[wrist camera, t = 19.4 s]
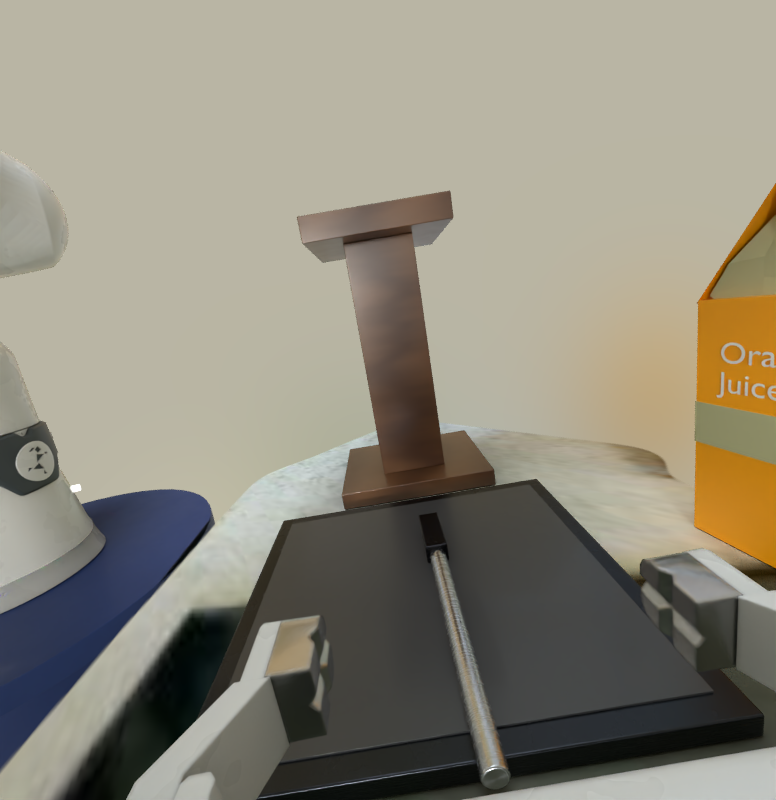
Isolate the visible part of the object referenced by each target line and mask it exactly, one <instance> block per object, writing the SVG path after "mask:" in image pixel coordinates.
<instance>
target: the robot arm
mask: <svg viewBox="0 0 776 800" xmlns="http://www.w3.org/2000/svg"><path fill="white" fill-rule="evenodd" d="M67 242H68V224H67V219H66V216H65V213H64V210H63V208H62V206H61V204H60V202H59V200H58V198H57V197H56V195H55V194H54V192H53V191H52V190H51V188H50V187H49V186H48V185H47V184H46V182H45V181H44V180H43V179H42V178H41V177H40V176H39V175H38V174H36V173H35V172H34V171H33V170H32V169H31V168H29V167H28V166H26V165H25V164H24V163H23V162H21V161H19V160H17V159H15V158H13V157H11V156H10V155H8V154H6V153H4V152H3V151H1V150H0V278H4V277H9V276H15V275H19V274H25V273H30V272H34V271H39V270H43V269H48V268H52V267H54V266H55V265H56V264H57V263H58V262H59V260H60V259H61V257H62V256H63V254H64V252H65V249H66V246H67ZM57 452H58V451H57V449H56V446H55V444H54V441H53V436H52V434H51V432H49V429H48V427H47V425H46V423H45V422H43V421H39V419H38V416H37V414H36V411H35V408H34V406H33V403H32V400H31V398H30V395H29V393H28V390H27V388H26V385H25V382H24V380H23V377H22V374H21V372H20V369H19V367H18V364H17V361H16V359H15V356H14V355H13V353H12V352H11V351H10V350H9V349H8V348H7V347H6V346H5V345H4V344H3V343H1V342H0V614H1V613H4V612H6V611H8V610H10V609H13V608H15V607H17V606H19V605H21V604H23V603H25V602H27V601H29V600H31V599H33V598H35V597H37V596H39V595H41V594H42V593H44V592H46V591H48V590H49V589H51V588H53V587H55V586H56V585H58V584H60V583H61V582H63V581H64V580H66V579H67V578H69V577H70V576H72V575H73V574H75V573H76V572H78V571H79V570H80V569H82V568H83V567H84V566H86V565H87V564H88V563H89V562H90V561H91V560H93V559H94V558H95V557H96V556H97V555H98V553H99V552H100V551H101V550H102V548H103V547H104V545H105V542H106V538H105V536H104V535H103V534H102V533H101V532H100V530H99V529H98V528H97V527H96V526H95V524H94V523H93V521H92V519H91V518H90V517H89V516H88V515H87V513H86V512H85V510H84V508H83V507H82V505H81V503H80V502H79V500H78V498H77V497H76V495H75V493H74V492H75V491H79V490H81V487H80V485H79V484H78V485H74V486H70V484H69V483H68V481H67V479H66V477H65V476H64V474H63V473H62V471H61V470H60V468H59V465H58V457H57ZM640 574H641V575H642V576H643V577H644V578H645V579H646V582H645V583H644V585H643V586H642V588H641V601H642V604H643V607H644V609H645V612H646V614H647V616H648V617H649V619H650V620H651V622H652V623H653V624H654V625H655V627H656V628H657V629H658V630H659V631H660V632H662V633H664V634H667V635H669V636H671V637H673V647H674V648H675V649H676V650H677V651H678V652H679V653H680V654H681V656H682V657H683V658H684V659H685V660H686V661H687V662H688V663H689V664H690V665H691V667H692V668H693V669H694V670H695V671H696V672H701V671H708V670H716V669H723V668H730V667H736V669H737V670H739V671H740V672H742V673H744V674H746V675H747V676H749V677H751V678H752V679H754V680H756V681H758V682H759V683H761V684H763V685H764V686H766V687H768V688H770V689H771V690H773V691H775V692H776V590H774V591H767V590H766V589H764V588H763V587H761V586H760V585H759V584H757V583H756V582H754V581H753V580H751V579H750V578H749V577H747V576H746V575H744V574H743V573H741V572H740V571H738V570H737V569H736V568H734V567H733V566H731V565H730V564H728V563H727V562H726V561H724V560H723V559H721V558H720V557H718V556H717V555H716V554H714V553H713V552H711V551H710V550H707V549H704V548H700V549H695V550H689V551H684V552H682V553H676V554H671V555H665V556H659V557H654V558H648V559H643V560H642V562H641V564H640ZM325 635H326V624H325V620H324V617H323V616H322V615H315V616H308V617H302V618H295V619H288V620H283V621H277V622H270V623H264V624H263V625H262V626H261V627H260V629H259V631H258V634H257V637H256V639H255V642H254V645H253V647H252V650H251V653H250V655H249V658H248V661H247V664H246V666H245V669H244V672H243V674H242V677H241V680H240V682H236V683H233V684H232V685H231V686H230V687H229V688H228V689H227V690H226V691H225V692H224V693H223V694H222V695H221V696H220V697H219V698H218V699H217V700H216V701H215V702H214V703H213V704H212V705H211V706H210V707H209V708H208V709H207V710H206V711H205V712H204V713H203V714H202V715H201V716H200V717H199V718H198V719H197V720H196V721H195V722H194V723H193V724H192V725H191V726H190V727H189V728H188V729H187V730H186V731H185V732H184V733H183V734H182V735H181V737H180V738H179V739H178V740H177V741H176V742H175V743H174V744H173V745H172V746H171V747H170V748H169V749H168V750H167V751H166V752H165V753H164V754H163V755H162V756H161V757H160V758H159V759H158V760H157V761H156V762H155V763H154V764H153V765H152V766H151V767H150V768H149V769H148V770H147V771H146V772H145V773H144V774H143V775H142V776H141V777H140V778H139V779H138V780H137V781H136V782H135V783H134V785H133V787H132V789H131V791H130V793H129V795H128V797H127V799H126V800H256V799H257V798H258V796H259V795H260V793H261V791H262V790H263V788H264V786H265V785H266V783H267V781H268V780H269V778H270V777H271V775H272V773H273V772H274V770H275V768H276V767H277V765H278V764H279V762H280V760H281V759H282V757H283V755H284V754H285V752H286V751H287V749H288V747H289V746H290V745H289V743H291V742H296V741H301V740H306V739H310V738H315V737H320V736H325V735H327V730H328V721H329V713H330V702H329V697H328V692H329V691H330V690H331V688H332V687H333V677H334V665H333V654H332V648H331V644H330V642H329V641H328V640H326V639H325ZM463 800H776V747H770V748H764V749H758V750H752V751H746V752H741V753H735V754H729V755H723V756H717V757H711V758H705V759H699V760H693V761H688V762H682V763H676V764H670V765H664V766H658V767H652V768H646V769H640V770H635V771H629V772H623V773H617V774H611V775H605V776H599V777H593V778H587V779H581V780H576V781H570V782H564V783H558V784H552V785H546V786H540V787H534V788H528V789H522V790H516V791H510V792H505V793H499V794H493V795H487V796H481V797H475V798H469V799H463Z"/></svg>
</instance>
